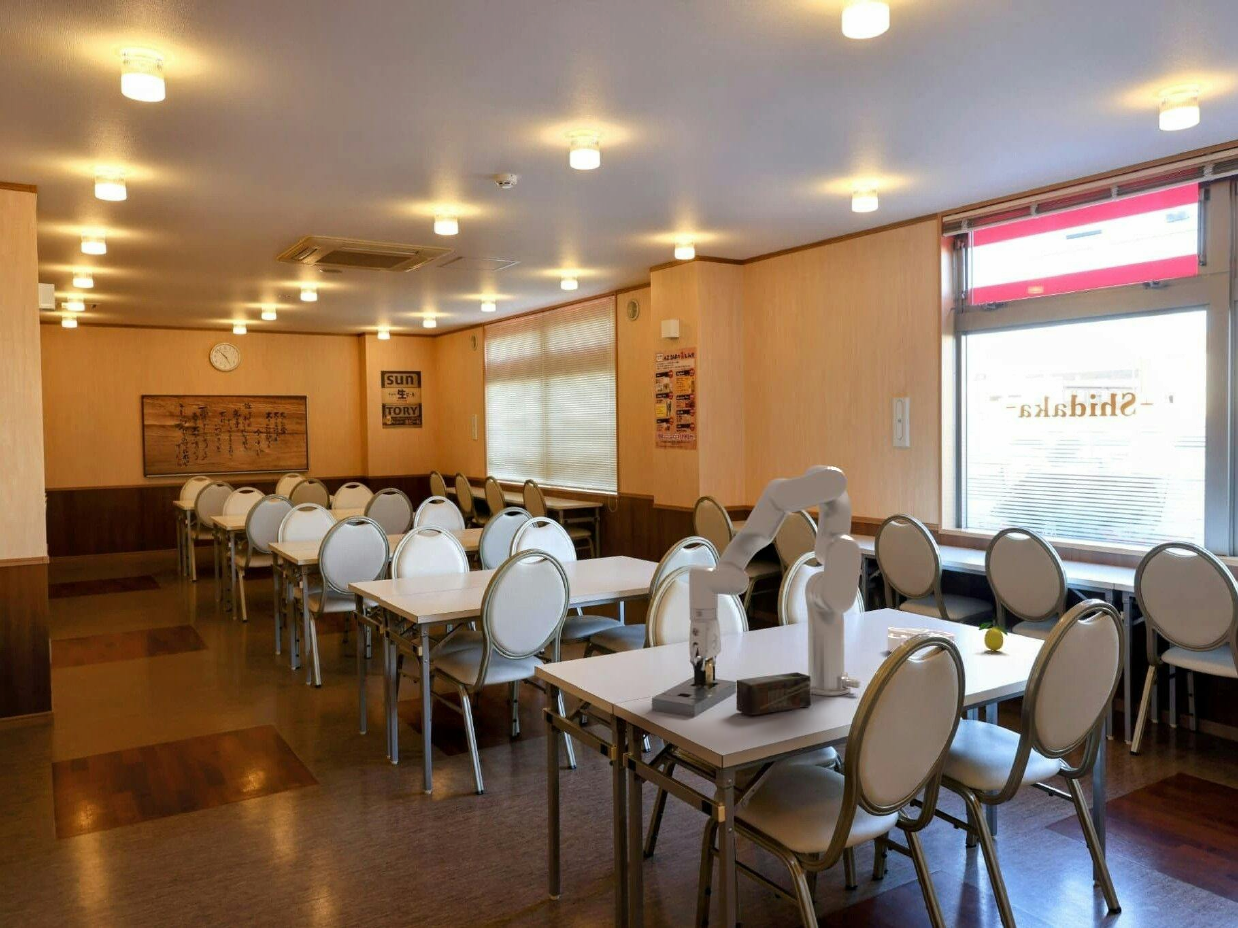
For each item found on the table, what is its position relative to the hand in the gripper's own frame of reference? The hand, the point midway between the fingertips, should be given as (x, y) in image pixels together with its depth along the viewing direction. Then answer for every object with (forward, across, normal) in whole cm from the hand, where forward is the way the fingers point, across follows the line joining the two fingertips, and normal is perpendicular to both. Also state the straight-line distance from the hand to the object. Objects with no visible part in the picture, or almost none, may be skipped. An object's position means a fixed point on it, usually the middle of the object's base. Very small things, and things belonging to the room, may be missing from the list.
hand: (704, 681), depth 241 cm
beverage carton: (+5, -10, -15) cm, 19 cm away
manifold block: (+4, -6, 0) cm, 7 cm away
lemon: (+4, +86, -57) cm, 103 cm away
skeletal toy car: (+4, +70, -38) cm, 80 cm away
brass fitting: (+3, 0, 0) cm, 3 cm away
